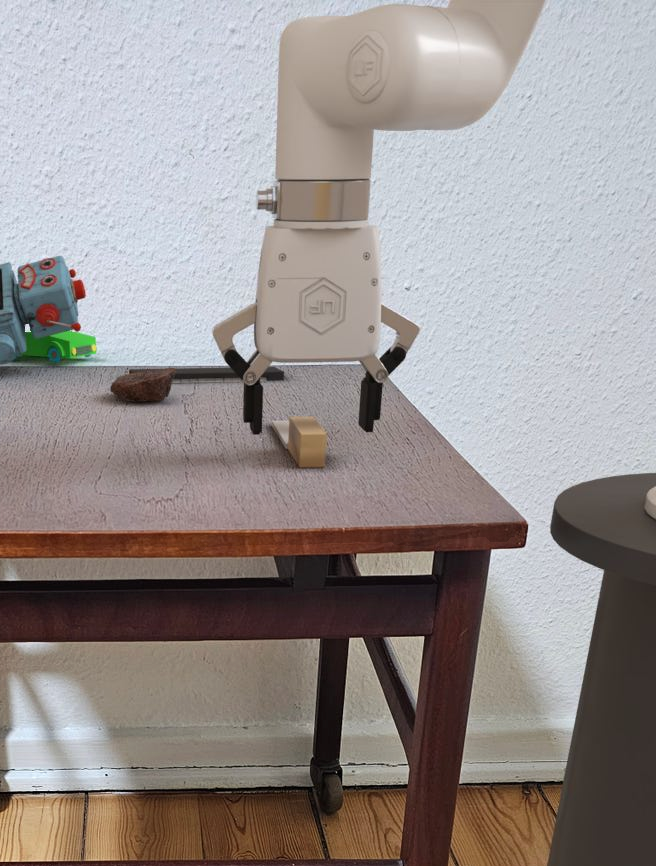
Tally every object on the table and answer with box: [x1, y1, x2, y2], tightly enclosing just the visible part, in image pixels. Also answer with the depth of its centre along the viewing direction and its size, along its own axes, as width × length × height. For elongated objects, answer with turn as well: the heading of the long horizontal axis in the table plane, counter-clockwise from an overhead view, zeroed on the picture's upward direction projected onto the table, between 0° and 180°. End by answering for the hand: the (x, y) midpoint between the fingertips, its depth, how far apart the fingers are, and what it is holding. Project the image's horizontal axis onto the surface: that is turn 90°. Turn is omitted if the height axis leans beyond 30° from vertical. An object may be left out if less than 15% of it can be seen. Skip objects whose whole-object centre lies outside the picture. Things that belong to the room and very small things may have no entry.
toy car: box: [13, 330, 98, 363], centre depth 147 cm, size 11×7×7 cm, turn 58°
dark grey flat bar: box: [128, 366, 285, 384], centre depth 138 cm, size 18×1×5 cm
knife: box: [271, 416, 328, 469], centre depth 108 cm, size 17×3×3 cm, turn 3°
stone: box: [109, 367, 176, 402], centre depth 126 cm, size 7×7×3 cm
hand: (310, 430), depth 103 cm, fingers open, 9 cm apart
